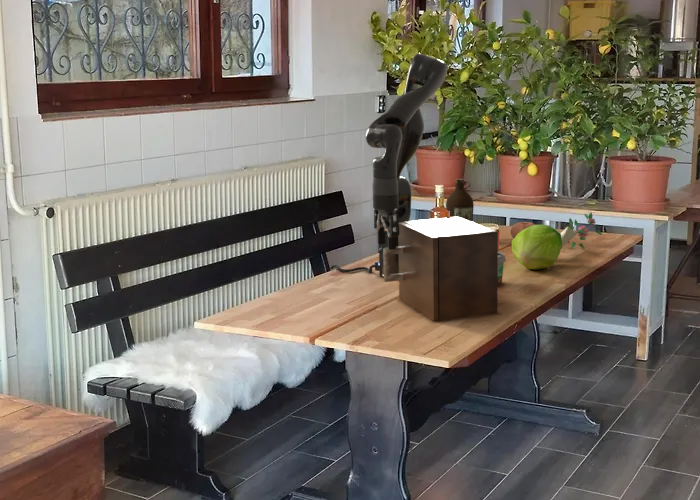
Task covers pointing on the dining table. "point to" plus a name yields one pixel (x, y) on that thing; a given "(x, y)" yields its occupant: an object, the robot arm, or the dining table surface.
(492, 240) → the cupboard
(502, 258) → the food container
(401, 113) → the robot arm
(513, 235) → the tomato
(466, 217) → the olive oil
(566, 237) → the flower vase
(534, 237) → the lettuce
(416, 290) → the door
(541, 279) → the dining table surface
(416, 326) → the dining table surface
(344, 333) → the dining table surface
